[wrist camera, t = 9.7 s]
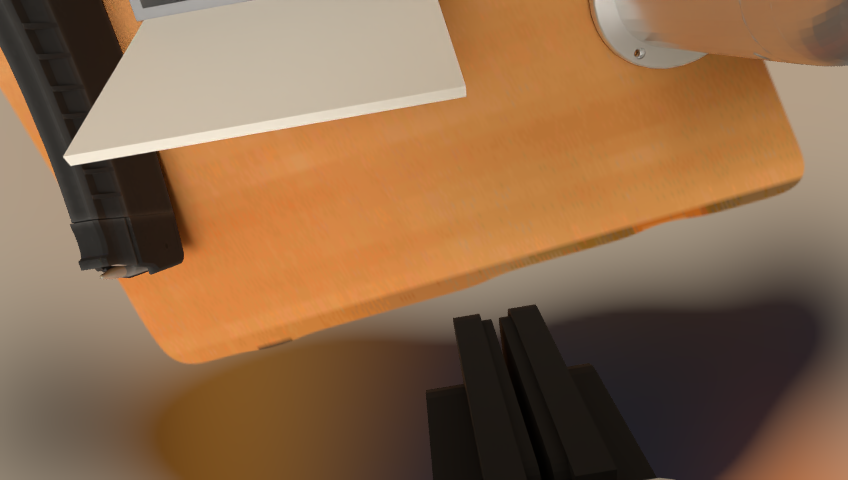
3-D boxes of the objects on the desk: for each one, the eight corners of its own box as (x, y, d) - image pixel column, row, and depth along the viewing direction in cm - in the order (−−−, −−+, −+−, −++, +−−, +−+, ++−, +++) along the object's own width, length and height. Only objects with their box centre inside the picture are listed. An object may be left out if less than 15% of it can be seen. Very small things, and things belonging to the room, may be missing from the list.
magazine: (-189, -308, 23) (-9, 324, 27) (-120, -321, 23) (51, 314, 27) (71, -102, 40) (158, 266, 44) (111, -109, 40) (195, 260, 44)
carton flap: (465, 86, 21) (466, 96, 21) (427, -32, 29) (428, -23, 30) (62, 156, 21) (70, 165, 21) (144, 19, 30) (148, 28, 30)
